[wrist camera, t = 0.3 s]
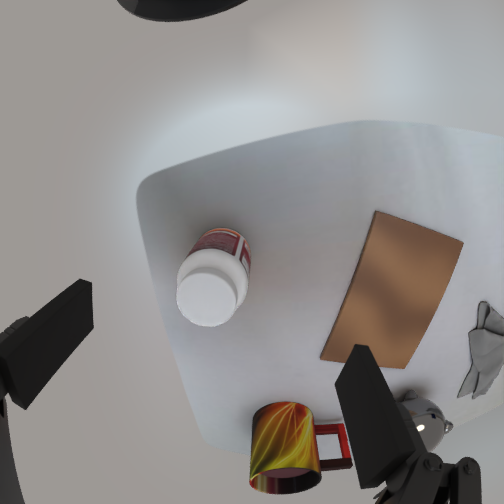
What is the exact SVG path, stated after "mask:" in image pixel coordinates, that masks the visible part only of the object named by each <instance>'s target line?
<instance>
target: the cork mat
mask: <svg viewBox="0 0 504 504" xmlns="http://www.w3.org/2000/svg"><path fill="white" fill-rule="evenodd" d="M463 244H464V243H463V242H461V241H459V240H456V239H454V238H451V237H449V236H446V235H443V234H441V233H438V232H436V231H433V230H430V229H428V228H425V227H422V226H420V225H417V224H414V223H411V222H408V221H406V220H403V219H400V218H397V217H394V216H391V215H388V214H385V213H382V212H379V211H375V214H374V217H373V221H372V224H371V227H370V230H369V233H368V236H367V239H366V242H365V245H364V248H363V251H362V254H361V257H360V260H359V262H358V265H357V268H356V271H355V274H354V276H353V279H352V282H351V284H350V287H349V289H348V292H347V295H346V297H345V300H344V302H343V305H342V307H341V310H340V312H339V314H338V317H337V319H336V322H335V324H334V326H333V329H332V331H331V333H330V336H329V338H328V340H327V342H326V345H325V347H324V349H323V351H322V353H321V356H320V359H321V360H327V361H334V362H341V363H346V361H347V359H348V357H349V355H350V353H351V351H352V349H353V347H354V345H355V344H360V345H368V346H369V348H370V350H371V352H372V354H373V356H374V358H375V360H376V362H377V364H378V366H379V367H387V368H399V369H405V367H406V366H407V364H408V362H409V360H410V359H411V357H412V355H413V354H414V352H415V350H416V348H417V347H418V345H419V343H420V341H421V339H422V337H423V336H424V334H425V332H426V330H427V328H428V326H429V324H430V322H431V320H432V318H433V316H434V314H435V312H436V310H437V308H438V306H439V303H440V301H441V299H442V297H443V295H444V292H445V290H446V288H447V285H448V283H449V281H450V278H451V276H452V273H453V271H454V268H455V266H456V263H457V261H458V258H459V255H460V252H461V250H462V247H463Z"/></svg>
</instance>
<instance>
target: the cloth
mask: <svg viewBox="0 0 504 504" xmlns="http://www.w3.org/2000/svg"><path fill="white" fill-rule="evenodd" d="M469 340H470V348H471V353H472V358H473V364H472V367H471V371H470V372H469V373H468V375H467V377H466V379H465V381H464V383H463V385H462V387H461V390H460V392H459V395H458V398H460V397H463V396H465V395H467V394H470V393H471V392H472V391H474V390H476V391H475V392H473V397H472V400H473V399H475V398H476V397H478V396H479V395H484V394H486V392H487V391H488V390H489V388H490V387H491V385H492V383H493V381H494V379H495V378H496V377H497V375H498V374H499V372H500V369H501V367H502V365H503V364H504V318H502V317H501V316H500V315H499V314H498V313H497V312H496V311H495V310H494V309H493V308H491V307H490V304H489V303H485V302H481V303H480V304H479V311H478V327H477V329H475V330H473V331H471V332H469Z"/></svg>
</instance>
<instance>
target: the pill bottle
mask: <svg viewBox="0 0 504 504" xmlns="http://www.w3.org/2000/svg"><path fill="white" fill-rule="evenodd" d="M250 263H251V252H250V247H249V245H248V243H247V241H246V240H245V239H244V237H243V236H241V235H240V234H239V233H237V232H236V231H234V230H231V229H227V228H216V229H212V230H210V231H208V232H206V233H205V234H204V235H203V236H202V237H201V238H200V239H199V240H198V241H197V243H196V244H195V246H194V247H193V248H192V250H191V251H190V252H189V254H188V256H187V257H186V258H185V260H184V261H183V263H182V265H181V266H180V268H179V271H178V274H177V293H176V301H177V305H178V307H179V310H180V311H181V313H182V314H183V315H184V316H185V317H186V318H187V319H188V320H189V321H191V322H193V323H195V324H197V325H200V326H205V327H214V326H218V325H221V324H223V323H225V322H226V321H228V320H229V319H230V318H231V317H232V315H233V313H234V311H235V310H236V309H237V308H238V307H239V306H240V305H241V304H242V302H243V301H244V299H245V297H246V294H247V290H248V282H249V273H250Z"/></svg>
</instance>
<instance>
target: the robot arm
mask: <svg viewBox="0 0 504 504" xmlns="http://www.w3.org/2000/svg"><path fill="white" fill-rule="evenodd" d="M93 328H94V325H93V307H92V283H91V282H89V281H85V280H82V279H79V280H77V281H76V282H75V283H73V284H72V285H71V286H69V287H68V288H67V289H65V290H64V291H63V292H61V293H60V294H59V295H58V296H56V297H55V298H54V299H53V300H51V301H50V302H49V303H47V304H46V305H45V306H44V307H42V308H41V309H40V310H39V311H38V312H36V313H35V314H34V315H33V316H31V317H30V318H29V317H27V316H25V317H23V318H20V319H18V320H16V321H15V322H14V323H12V324H11V325H10V327H8V328H6V329H5V330H4V332H2V333H0V504H25V502H24V499H23V496H22V492H21V489H20V485H19V481H18V477H17V472H16V469H15V463H14V458H13V453H12V447H11V440H10V433H9V427H8V416H7V404H6V399H5V396H6V394H7V393H9V395H10V397H11V399H12V401H13V402H14V403H15V404H17V405H18V406H20V407H21V408H23V409H24V410H26V409H27V408H28V406H29V405H30V404H31V403H32V401H33V400H34V399H35V397H36V396H37V395H38V394H39V393H40V391H41V390H42V389H43V387H44V386H45V385H46V384H47V382H48V381H49V380H50V379H51V377H52V376H53V375H54V374H55V373H56V371H57V370H58V369H59V368H60V367H61V365H62V364H63V363H64V362H65V361H66V359H67V358H68V357H69V356H70V355H71V354H72V352H73V351H74V350H75V349H76V348H77V347H78V345H79V344H80V343H81V342H82V341H83V340H84V338H85V337H86V336H87V335H88V334H89V333H90V332H91V331H92V329H93ZM335 387H336V391H337V395H338V398H339V402H340V406H341V410H342V413H343V417H344V421H345V425H346V429H347V433H348V437H349V441H350V445H351V449H352V453H353V457H354V461H355V466H356V470H357V474H358V479H359V483H360V487H361V489H366V488H375V487H378V486H379V485H380V484H381V483H383V482H384V481H386V484H387V487H385V488H384V489H383V490H382V491H381V492H379V493H378V494H377V495H376V496H375V497H374V498H373V499H376V498H378V497H379V498H378V500H377V501H376V503H375V504H448V501H450V503H449V504H482V503H481V502H482V499H481V498H482V496H481V472H480V467H479V464H478V463H477V461H475V460H474V459H473V458H470V457H464V458H462V459H461V460H460V461H459V462H458V463H456V464H448V463H443V461H442V459H441V458H440V457H439V456H438V455H436V454H434V453H431V452H428V451H427V449H426V447H425V445H424V442H423V440H422V438H421V436H420V434H419V431H418V429H417V428H416V425H415V423H414V421H413V418H412V416H411V414H410V412H409V410H408V409H407V408H406V407H405V406H404V405H403V404H402V403H396V402H395V400H394V398H393V395H392V393H391V391H390V389H389V387H388V385H387V383H386V381H385V379H384V376H383V374H382V372H381V370H380V368H379V366H378V364H377V362H376V360H375V358H374V356H373V354H372V352H371V350H370V348H369V346H368V345H360V344H355V345H354V347H353V349H352V351H351V353H350V355H349V357H348V359H347V361H346V363H345V365H344V367H343V369H342V371H341V373H340V375H339V377H338V379H337V381H336V382H335Z"/></svg>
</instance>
